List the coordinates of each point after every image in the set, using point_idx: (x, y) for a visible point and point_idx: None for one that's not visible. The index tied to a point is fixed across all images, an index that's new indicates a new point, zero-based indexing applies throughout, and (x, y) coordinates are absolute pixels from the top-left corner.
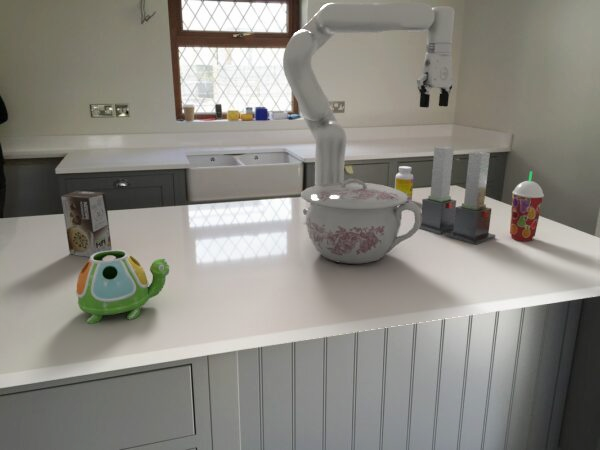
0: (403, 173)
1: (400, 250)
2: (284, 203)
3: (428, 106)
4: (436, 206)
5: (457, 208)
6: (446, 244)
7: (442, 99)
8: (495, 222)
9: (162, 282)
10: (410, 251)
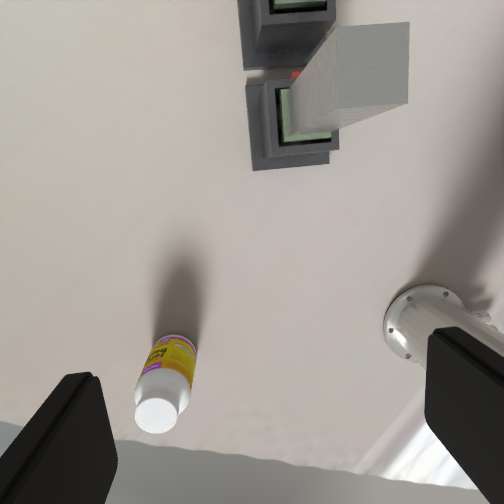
0: (174, 394)
1: (481, 50)
2: (422, 446)
3: (446, 328)
4: None
5: (335, 12)
6: (371, 17)
7: (78, 496)
8: (115, 71)
9: None
10: (471, 32)
